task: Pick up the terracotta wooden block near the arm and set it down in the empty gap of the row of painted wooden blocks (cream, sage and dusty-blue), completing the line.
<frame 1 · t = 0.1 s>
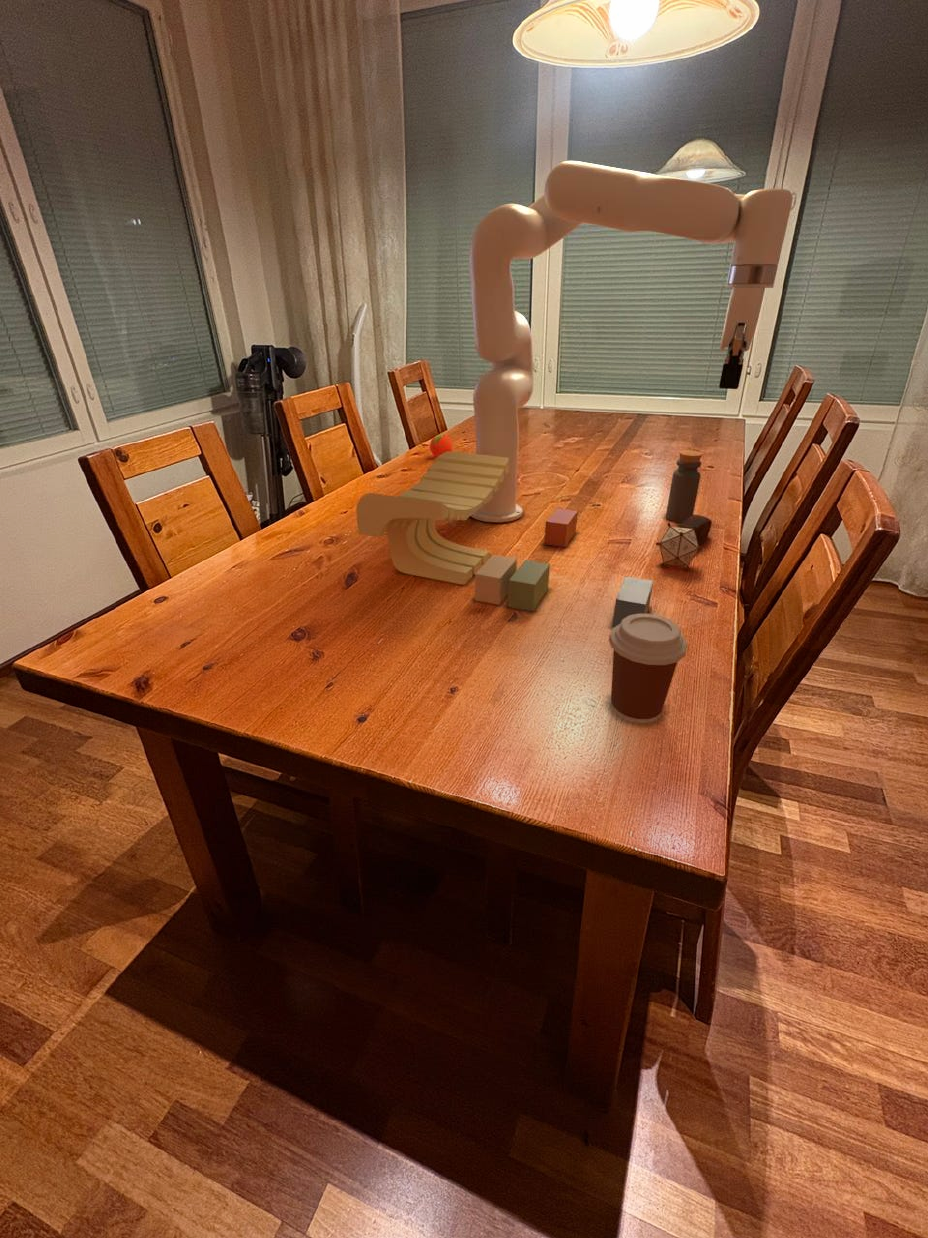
hand: (729, 384, 111), 31 cm above the table, tool pointing down, fingers open, 9 cm apart
block b: (528, 597, 104), on the table
bottle: (678, 518, 139), on the table
slatted curved stool: (440, 564, 117), on the table
game die: (674, 566, 116), on the table
coffee cup: (635, 708, 78), on the table
block c: (630, 617, 98), on the table
loose block: (560, 538, 128), on the table
brick: (690, 542, 127), on the table
block a: (495, 591, 106), on the table
tomato: (440, 458, 186), on the table
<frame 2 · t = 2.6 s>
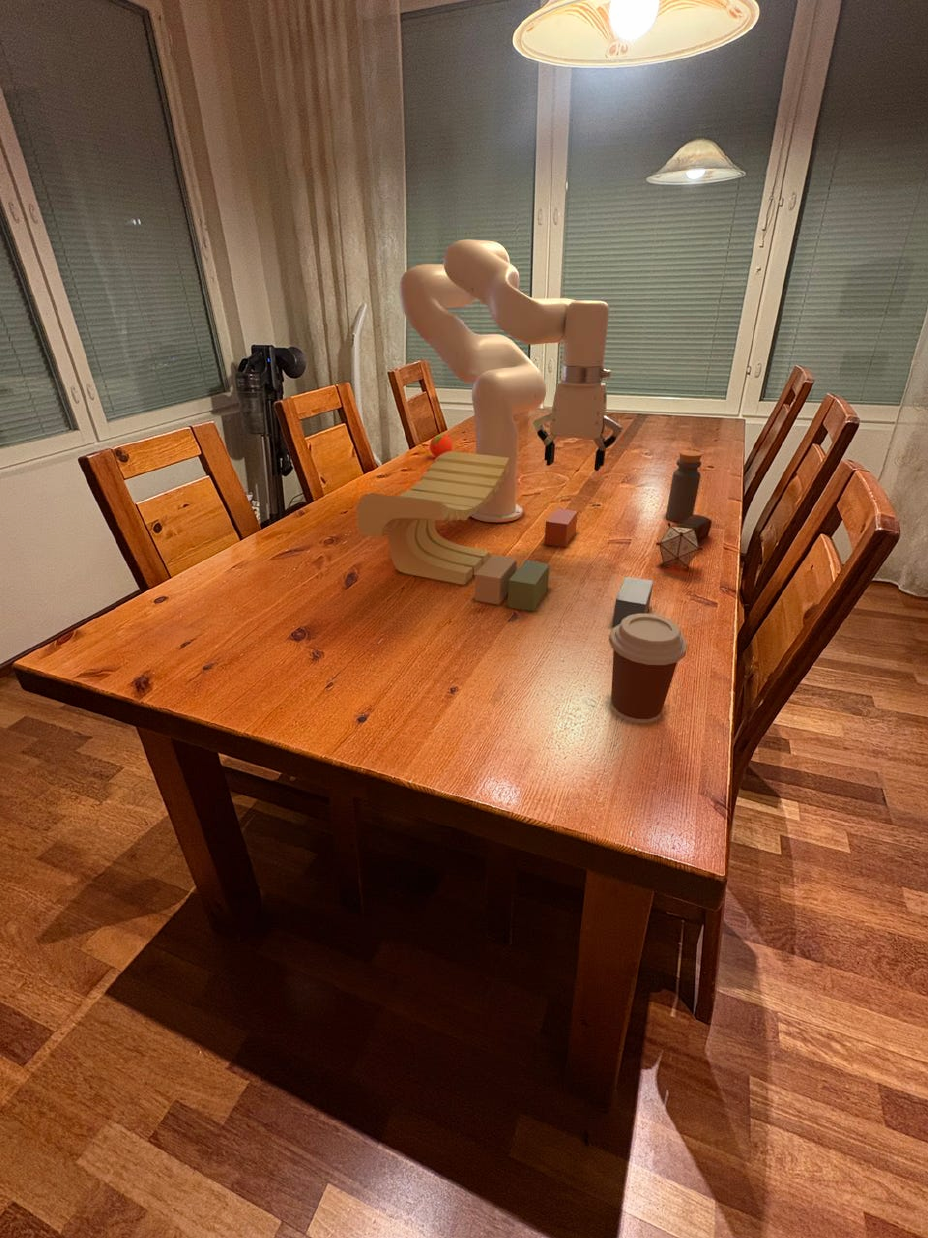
hand: (573, 466, 121), 15 cm above the table, tool pointing down, fingers open, 9 cm apart
nothing on the table moved.
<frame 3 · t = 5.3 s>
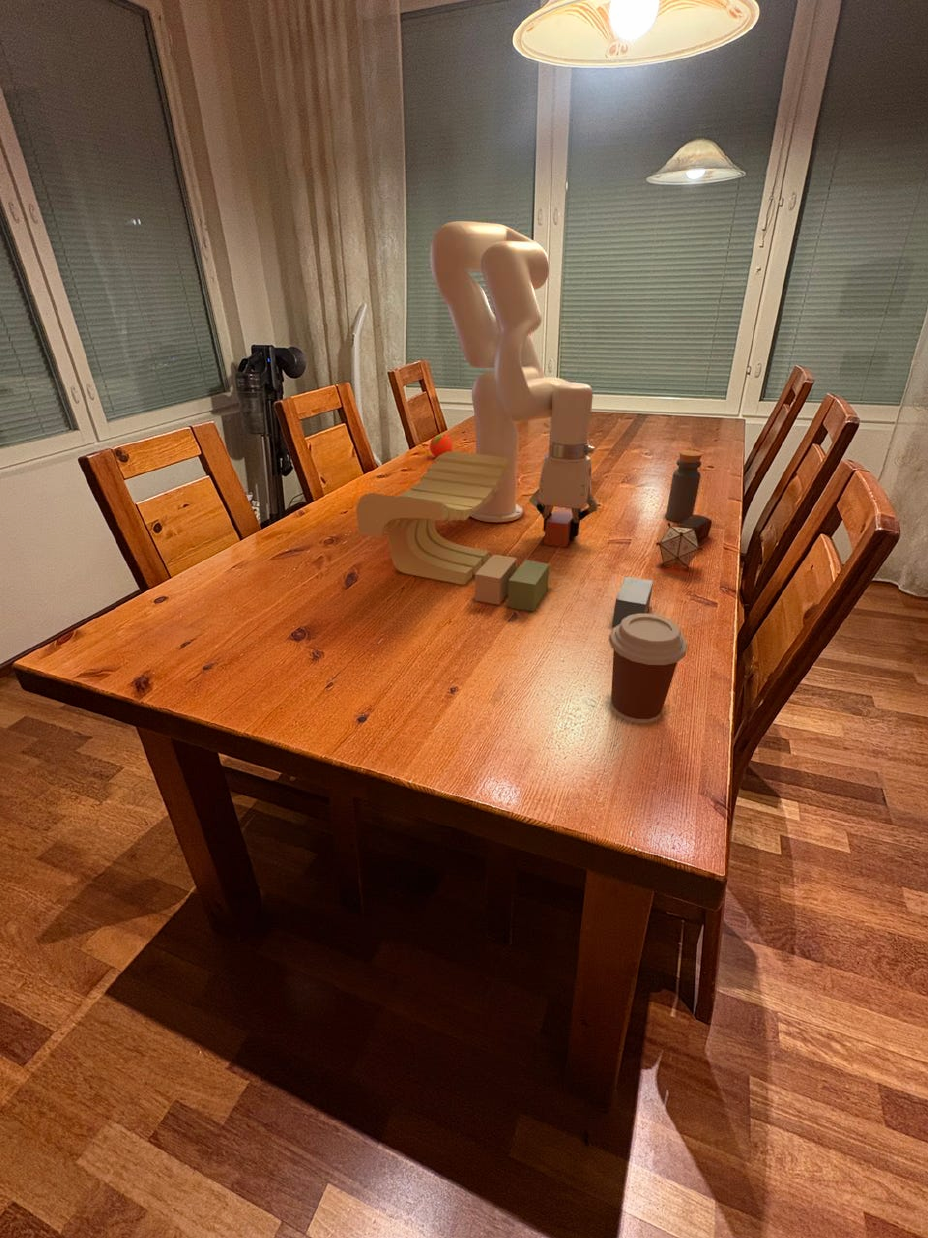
hand: (560, 535, 128), 1 cm above the table, tool pointing down, fingers closed on loose block, 4 cm apart
loose block: (560, 538, 128), on the table, touching gripper
everything else where it was.
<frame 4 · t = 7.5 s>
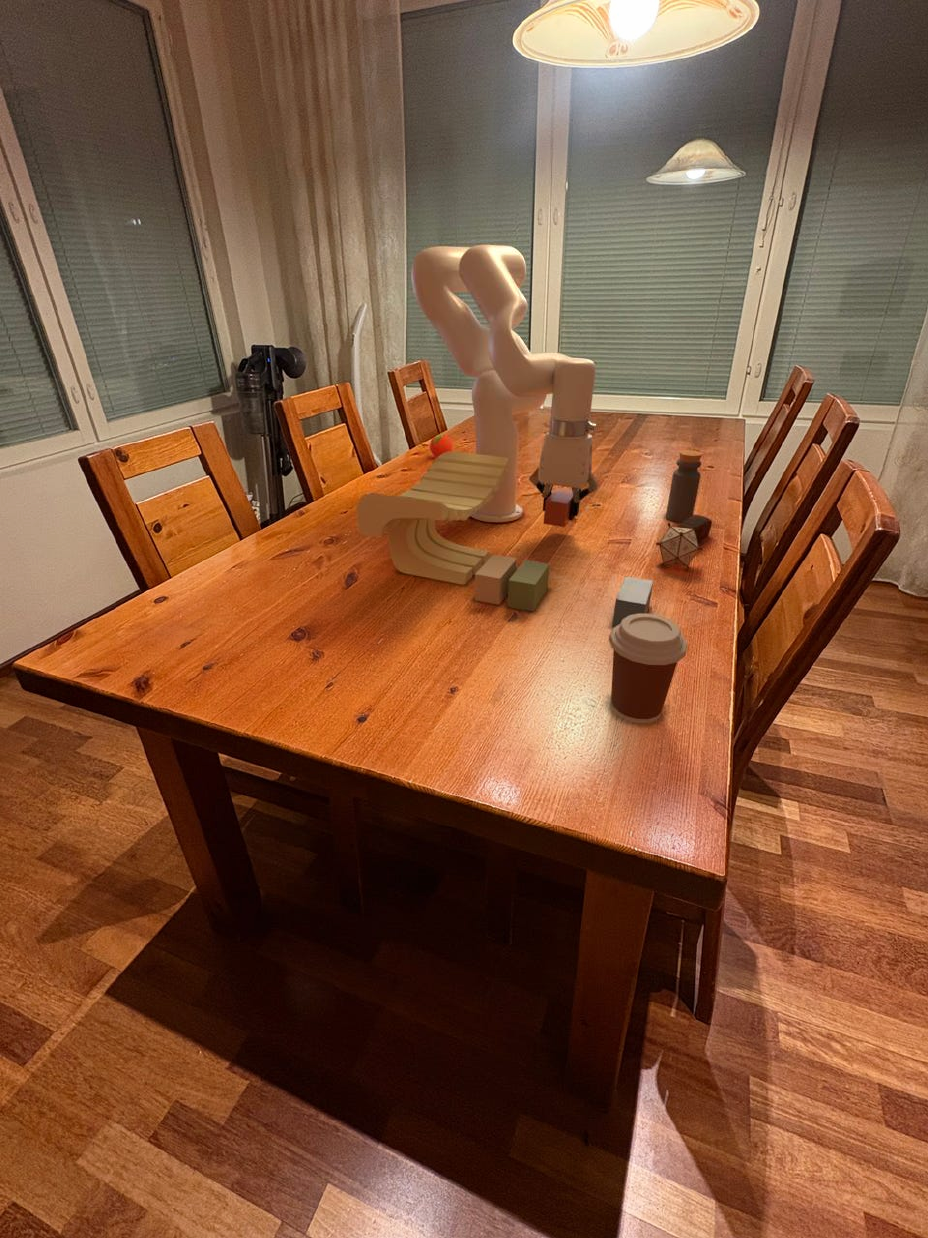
hand: (560, 515, 126), 5 cm above the table, tool pointing down, fingers closed on loose block, 4 cm apart
loose block: (559, 518, 126), point 4 cm above the table, touching gripper
everything else where it was.
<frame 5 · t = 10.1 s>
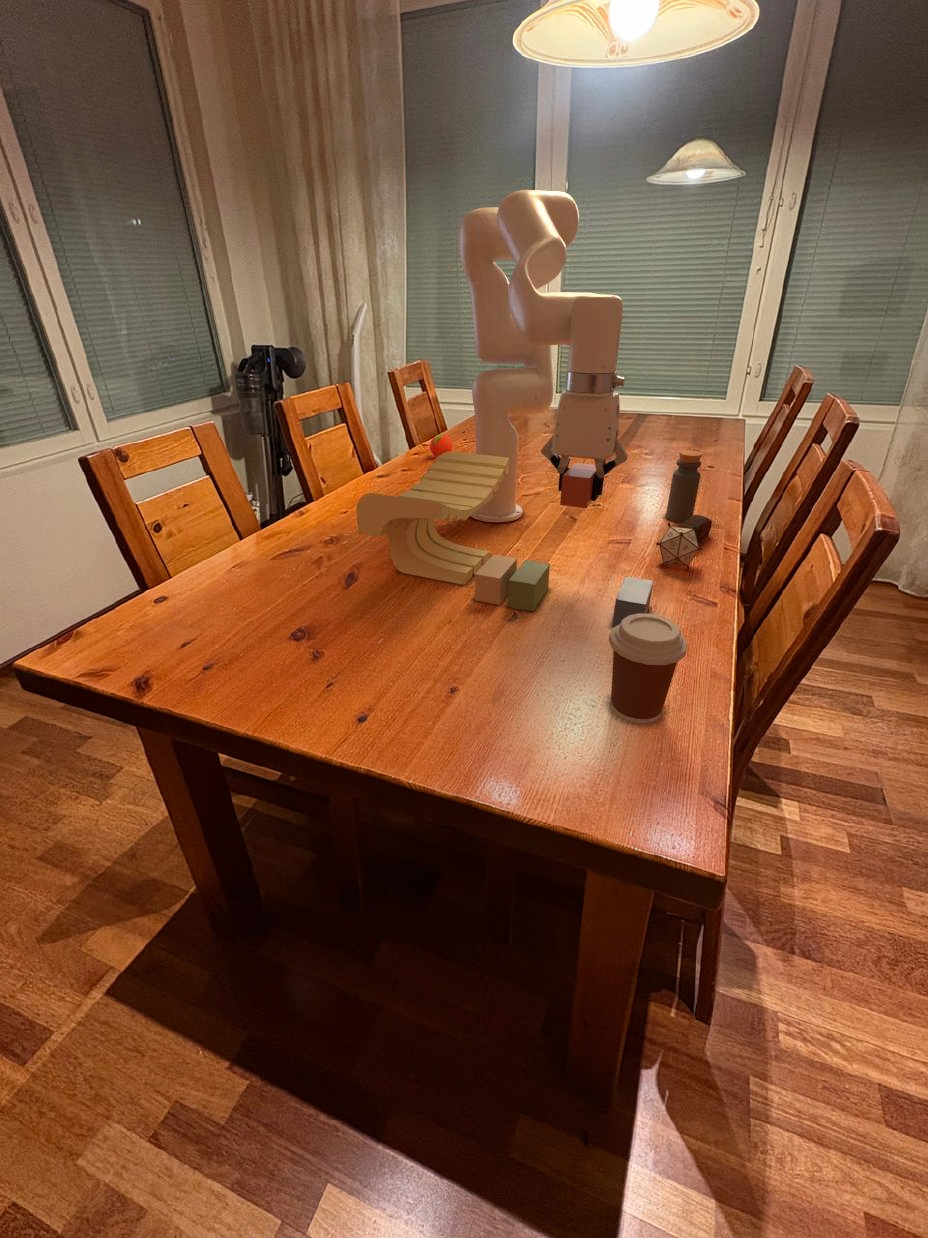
hand: (579, 495, 103), 16 cm above the table, tool pointing down, fingers closed on loose block, 4 cm apart
loose block: (579, 498, 103), point 15 cm above the table, touching gripper
everything else where it was.
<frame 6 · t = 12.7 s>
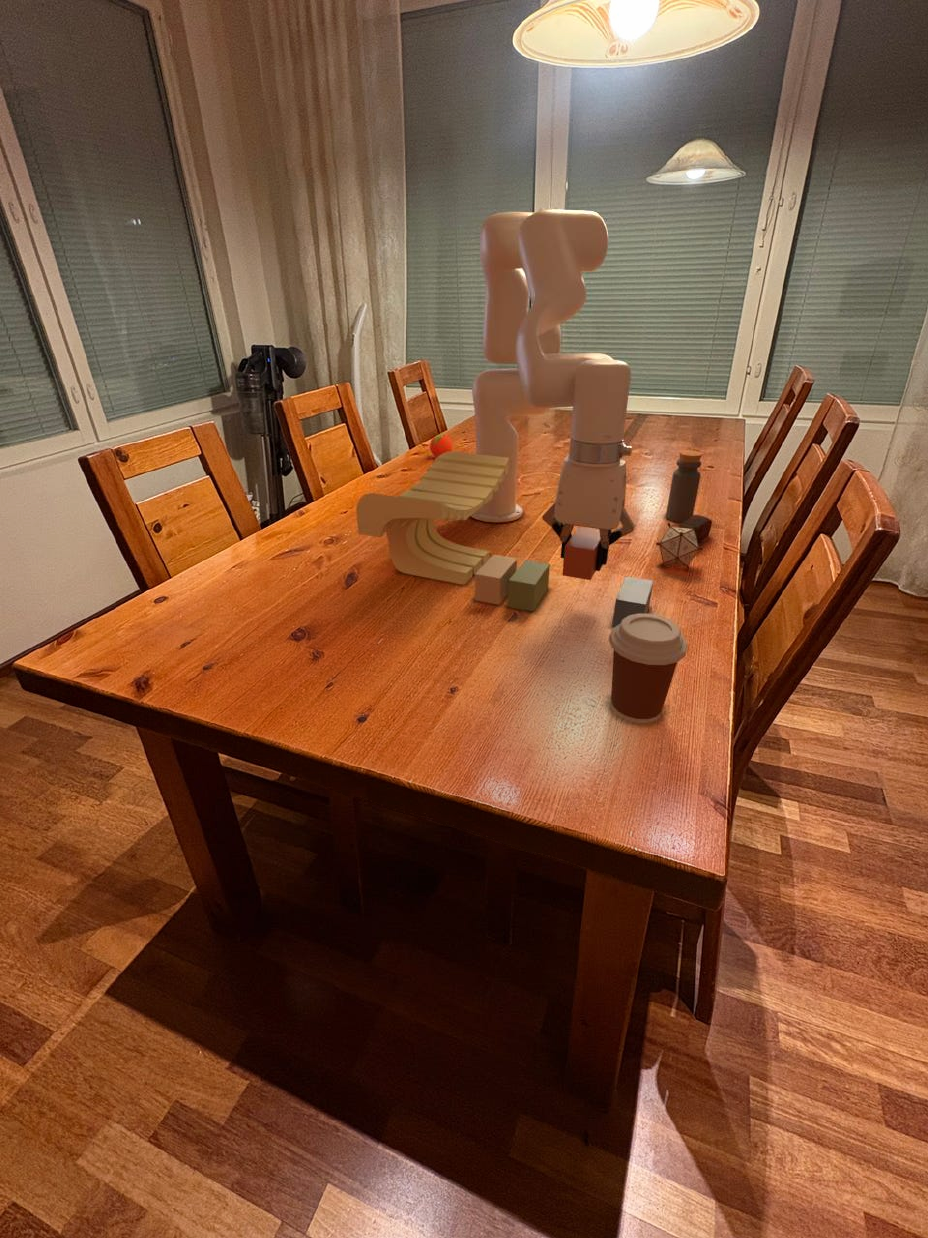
hand: (583, 564, 97), 8 cm above the table, tool pointing down, fingers closed on loose block, 4 cm apart
loose block: (582, 567, 98), point 7 cm above the table, touching gripper
everything else where it was.
when the fingers open (0 cm above the table, at t = 14.9 s): loose block stays where it is, on the table.
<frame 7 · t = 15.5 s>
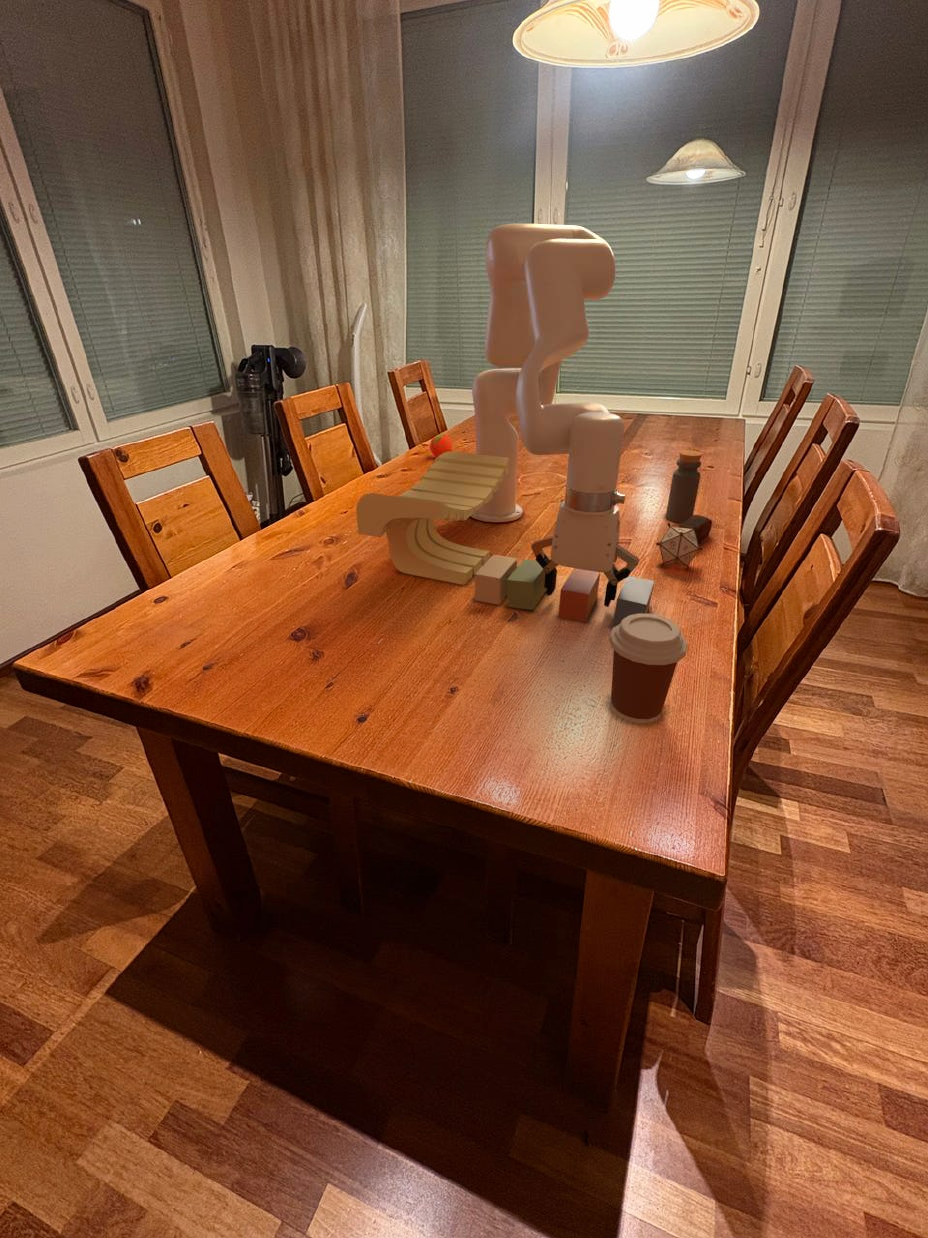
hand: (578, 597, 101), 2 cm above the table, tool pointing down, fingers open, 9 cm apart
block b: (528, 597, 104), on the table, touching gripper
loose block: (578, 607, 101), on the table
everything else where it was.
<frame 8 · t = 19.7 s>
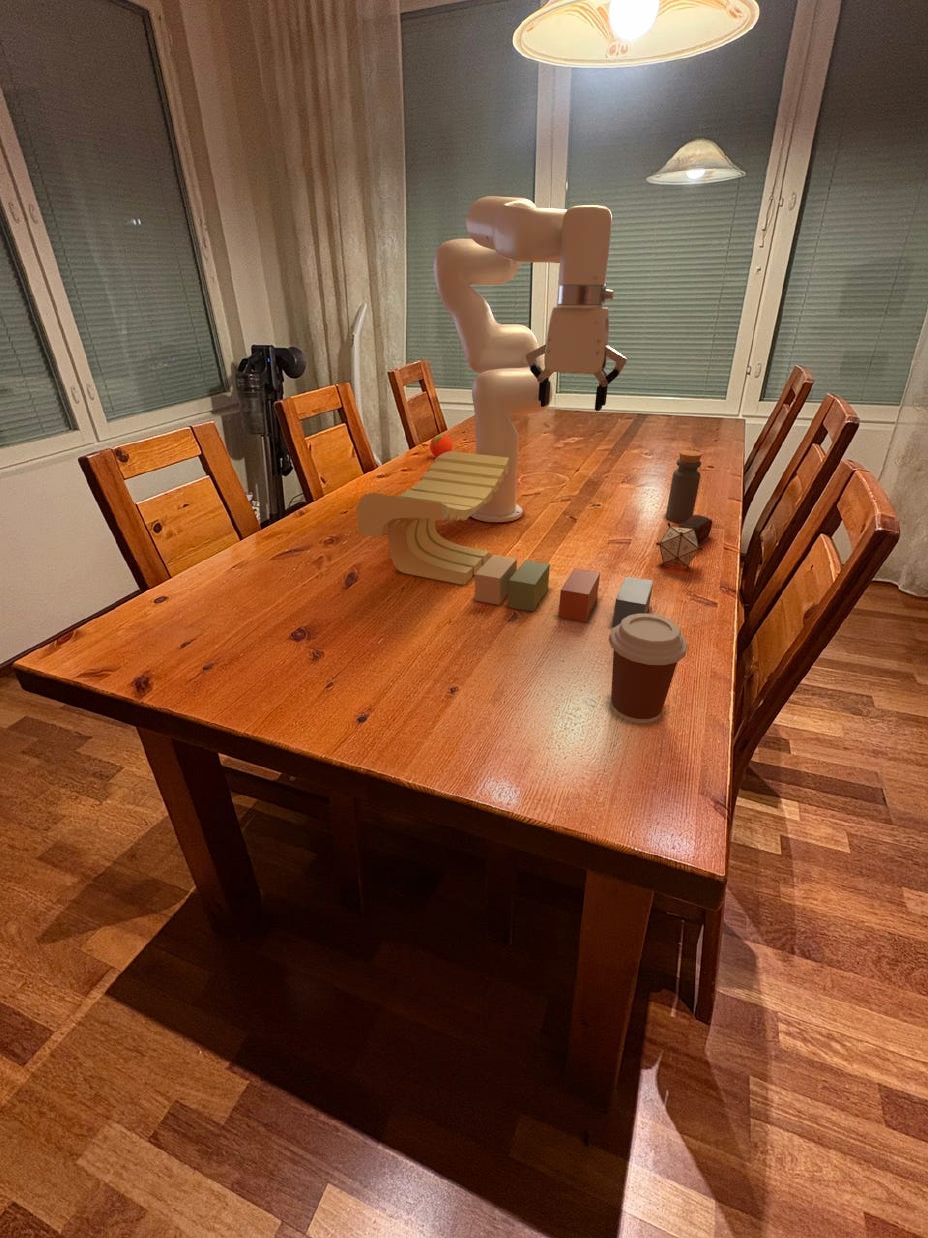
hand: (571, 407, 106), 28 cm above the table, tool pointing down, fingers open, 9 cm apart
block b: (528, 597, 104), on the table
everything else where it was.
at the end: loose block 0.1 cm from the target spot on the table beside the block b, on the table; loose block tilted 0°; the gripper is holding nothing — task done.
